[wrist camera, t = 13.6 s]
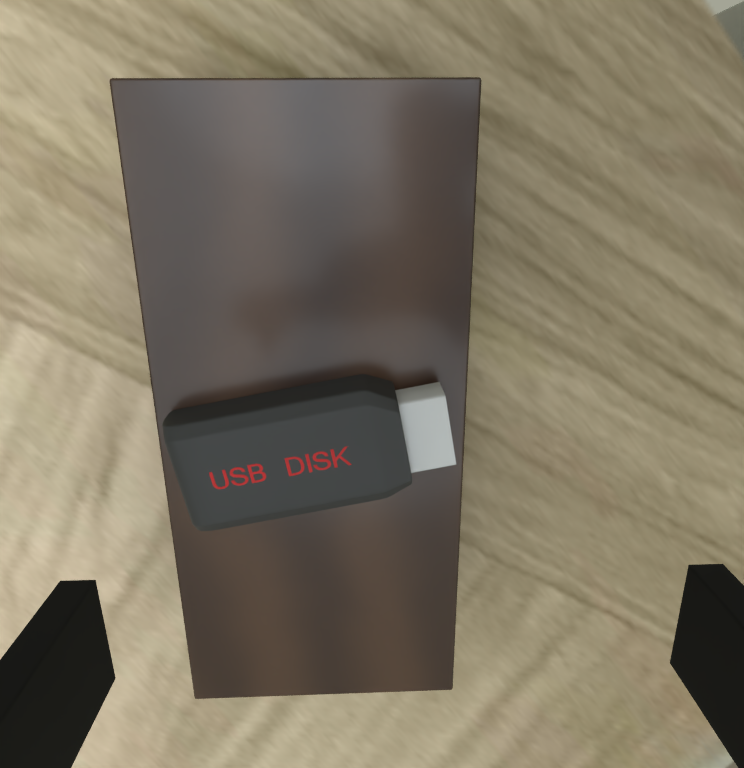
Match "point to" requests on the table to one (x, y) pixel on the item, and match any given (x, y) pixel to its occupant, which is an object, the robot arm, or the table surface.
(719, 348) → the table surface
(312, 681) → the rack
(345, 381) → the usb drive
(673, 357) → the table surface
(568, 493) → the table surface
